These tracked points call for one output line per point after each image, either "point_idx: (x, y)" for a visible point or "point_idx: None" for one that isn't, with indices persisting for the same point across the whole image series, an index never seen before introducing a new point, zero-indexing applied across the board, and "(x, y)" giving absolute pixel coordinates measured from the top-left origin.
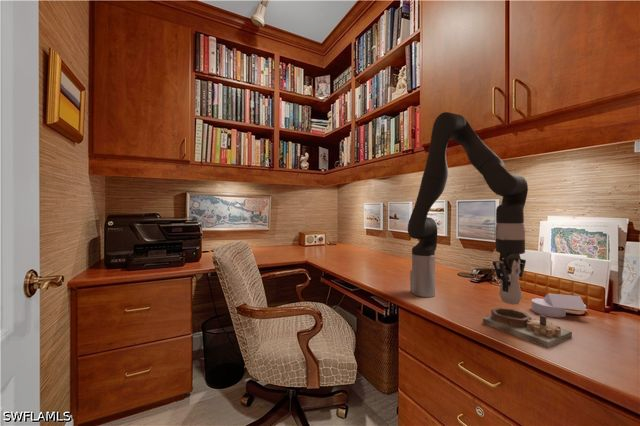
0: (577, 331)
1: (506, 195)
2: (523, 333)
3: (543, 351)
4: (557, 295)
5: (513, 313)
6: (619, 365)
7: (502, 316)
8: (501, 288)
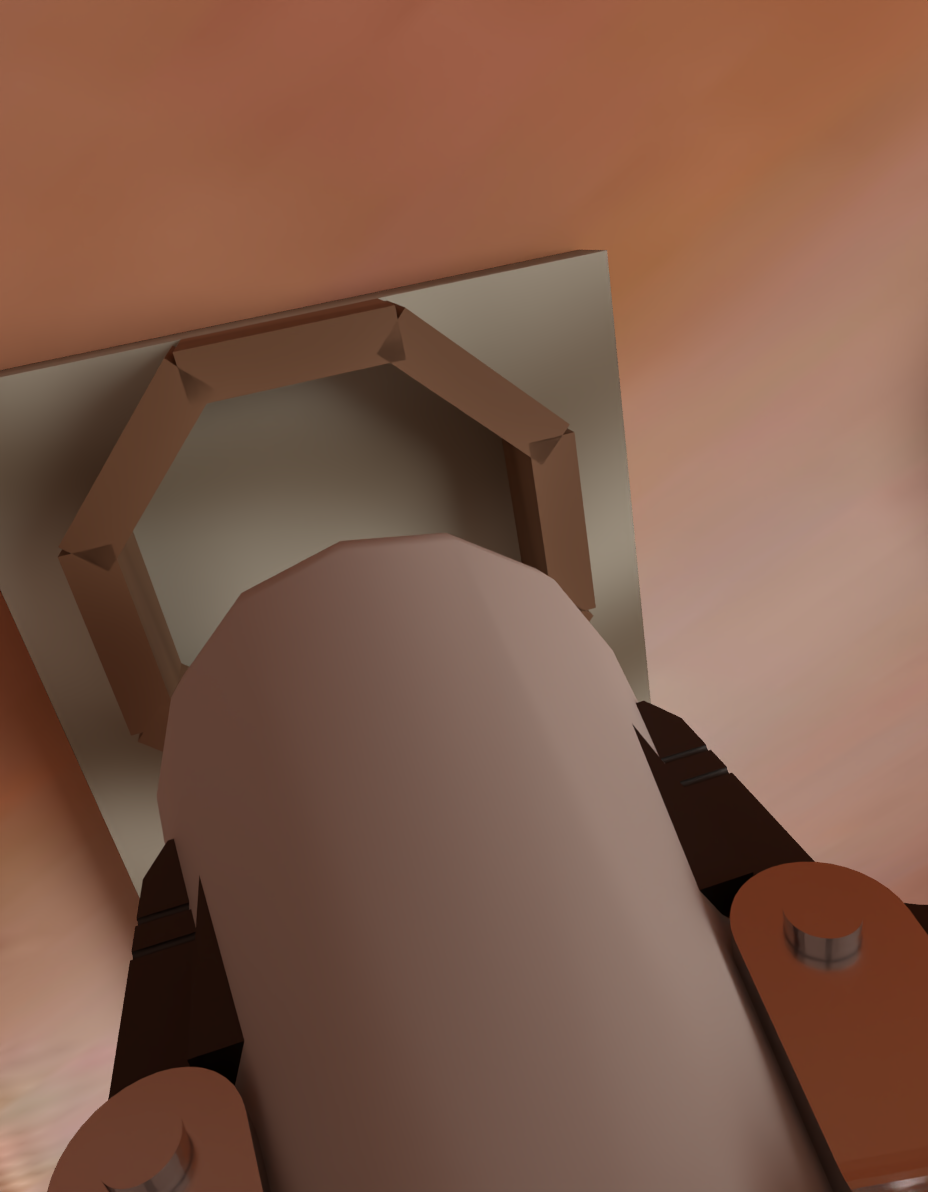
0: (820, 778)
1: None
2: (134, 878)
3: (96, 1041)
4: None
5: (519, 465)
6: None
7: (103, 657)
8: (191, 808)
